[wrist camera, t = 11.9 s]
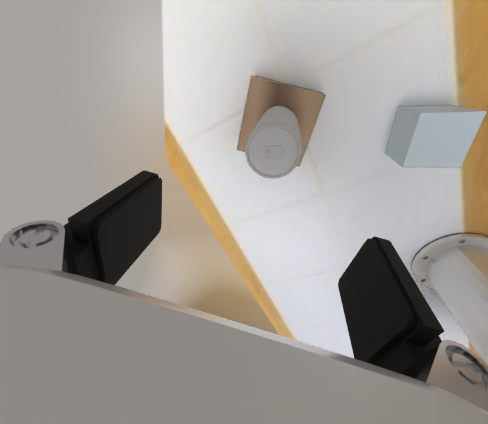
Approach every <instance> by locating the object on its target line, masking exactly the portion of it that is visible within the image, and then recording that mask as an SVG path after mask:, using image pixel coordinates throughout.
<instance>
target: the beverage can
mask: <svg viewBox="0 0 488 424" xmlns="http://www.w3.org/2000/svg"><path fill="white" fill-rule="evenodd" d="M301 153H302V142H301V136H300V130H299V125H298V120H297V117H296V116H295V114H294V113H293V112H292V111H291V110H290V109H288V108H286V107H284V106H274V107H272V108H270V109H268V110H267V111H266V112H265V113H264V114H263V116H262V117H261V119H260V120H259V122H258V123H257V125H256V126H255V128H254V129H253V131H252V132H251V134H250V135H249V137H248V140H247V142H246V158H247V161H248V163H249V166H250V167H251V168H252V169H253V171H254V172H256V173H257V174H259V175H260V176H263V177H265V178H272V179H273V178H280V177H283V176H286V175H287V174H288V173H290V172H291V171H292V170H293V169H294V168H295V167H296V165H297V163H298V162H299V160H300V157H301Z"/></svg>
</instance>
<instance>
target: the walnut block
mask: <svg viewBox="0 0 488 424" xmlns="http://www.w3.org/2000/svg"><path fill="white" fill-rule="evenodd" d="M325 96H326V95H325V94H323V93H320V92H316V91H313V90H309V89H305V88H301V87H297V86H293V85H289V84H285V83H281V82H278V81H274V80H270V79H266V78H262V77H258V76H251V80H250V85H249V90H248V95H247V100H246V105H245V111H244V116H243V121H242V126H241V131H240V136H239V141H238V146H237V150H240V151H244V152H246V142H247V140H248V137H249V135H250V134H251V132H252V131H253V129H254V128H255V126H256V125H257V123H258V122H259V120H260V119H261V117H262V116H263V114H264V113H265V112H266V111H267V110H268V109H270V108H272V107H274V106H284V107H286V108H288V109H290V110H291V111H292V112H293V113H294V114H295V116H296V117H297V120H298V125H299V130H300V136H301V142H302V153H301V157H300V160H299V162H298V163H297V165H296V166H300V163H301V160H302V158H303V155H304V152H305V150H306V147H307V144H308V142H309V139H310V136H311V133H312V131H313V128H314V125H315V123H316V120H317V117H318V115H319V112H320V109H321V107H322V104H323V101H324V98H325Z"/></svg>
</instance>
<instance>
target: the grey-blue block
mask: <svg viewBox="0 0 488 424" xmlns="http://www.w3.org/2000/svg"><path fill="white" fill-rule="evenodd" d="M486 112H487V111H482V110H476V109H471V108H465V107H460V106H454V105H435V106H402V107H398V108H397V112H396V115H395V119H394V122H393V126H392V130H391V133H390V137H389V140H388V144H387V147H386V151H385V153H386V154H387V155H388V156H389V157H391V158H392V159H393V160H394V161H396V162H397V163H398V164H399V165H400V166H402V167H423V168H460V167H461V165H462V163H463V161H464V159H465V157H466V155H467V152H468V150H469V148H470V146H471V144H472V142H473V140H474V138H475V136H476V134H477V131H478V129H479V127H480V125H481V123H482V121H483V119H484V117H485V115H486Z"/></svg>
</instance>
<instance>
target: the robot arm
mask: <svg viewBox="0 0 488 424" xmlns="http://www.w3.org/2000/svg"><path fill="white" fill-rule="evenodd" d="M161 212H162V179H161V178H159V176H158V174H155V173H152V172H148V171H142V172H140V173H139V174H137V175H136V176H134V177H133V178H131V179H129V180H128V181H126V182H125V183H123V184H122V185H120V186H118V187H117V188H115V189H114V190H112V191H111V192H109V193H107V194H106V195H104V196H103V197H101V198H100V199H98V200H96V201H95V202H93V203H92V204H90V205H89V206H87V207H86V208H84V209H82V210H81V211H79V212H78V213H76V214H74V215H73V216H71V217H70V218H68V221H69V223H67V224H66V225H64V226H63V225H61V224H60V223H57V222H55V221H35V222H29V223H26V224H23V225H20V226H18V227H15V228H13V229H12V230H10V231H9V232H8V233H6V234H5V236H4V237H3V239H2V241H1V243H0V424H488V237H486V236H483V235H479V234H457V235H451V236H447V237H444V238H441V239H438V240H436V241H434V242H432V243H430V244H428V245H427V246H426V247H424V248H423V249H422V250H421V251H420V252H419V253H418V254H417V255H416V257H415V258H414V260H413V263H412V271H413V274H414V276H415V278H416V279H417V280H418V282H419V283H421V284H422V285H423V286H425V287H427V288H430V289H433V290H436V292H437V293H438V295H439V296H440V298H441V299H442V301H443V302H444V304H445V305H446V307H447V308H448V309H449V311H450V312H451V314H452V315H453V317H454V318H455V320H456V321H457V323H458V324H459V326H460V327H461V329H462V330H463V332H464V333H465V335H466V336H467V338H468V339H469V341H470V342H471V343H472V345H473V346H474V348H475V349H476V351H477V352H478V354H479V355H480V357H481V358H482V360H483V361H484V362H483V361H482V360H481V359H480V358H479V357H478V356H477V355H476V354H474V353H473V352H472V351H471V350H469V349H468V348H466V347H465V346H463V345H461V344H459V343H457V342H455V341H451V340H444V341H441V339H440V337H439V335H440V334H441V333H443V332H444V330H443V328H442V326H441V325H440V323H439V321H438V320H437V318H436V317H435V315H434V313H433V312H432V310H431V308H430V307H429V305H428V303H427V302H426V300H425V298H424V297H423V295H422V293H421V292H420V290H419V288H418V287H417V285H416V283H415V282H414V280H413V278H412V277H411V275H410V273H409V272H408V270H407V268H406V267H405V265H404V263H403V262H402V260H401V258H400V257H399V255H398V253H397V252H396V250H395V248H394V247H393V245H392V243H391V242H390V241H389V240H385V239H382V238H378V237H373V238H371V239H367V240H366V242H365V243H364V244H363V246H362V247H361V249H360V250H359V252H358V253H357V255H356V256H355V257H354V259H353V260H352V262H351V263H350V265H349V266H348V268H347V269H346V270H345V272H344V273H343V275H342V276H341V278H340V279H339V283H338V287H339V291H340V296H341V300H342V305H343V309H344V314H345V318H346V323H347V327H348V331H349V336H350V340H351V345H352V349H353V354H354V358H355V359H354V358H350V357H347V356H344V355H341V354H338V353H334V352H331V351H328V350H325V349H322V348H319V347H315V346H312V345H309V344H306V343H303V342H299V341H296V340H293V339H290V338H287V337H283V336H280V335H277V334H273V333H270V332H267V331H264V330H260V329H257V328H254V327H251V326H247V325H244V324H241V323H238V322H235V321H231V320H228V319H225V318H221V317H218V316H215V315H212V314H208V313H205V312H202V311H199V310H195V309H192V308H189V307H185V306H182V305H179V304H176V303H172V302H169V301H166V300H162V299H159V298H155V297H152V296H149V295H146V294H142V293H139V292H136V291H132V290H129V289H126V288H122V287H118V286H115V284H116V283H117V282H118V280H119V279H120V278H121V277H122V276H123V275H124V273H125V272H126V271H127V270H128V269H129V267H130V266H131V265H132V264H133V263H134V262H135V260H136V259H137V258H138V257H139V256H140V255H141V253H142V252H143V251H144V250H145V249H146V247H147V246H148V245H149V244H150V242H152V240H153V239H154V238H155V237H156V236H157V234H158V233H159V231H160V229H161Z"/></svg>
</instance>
